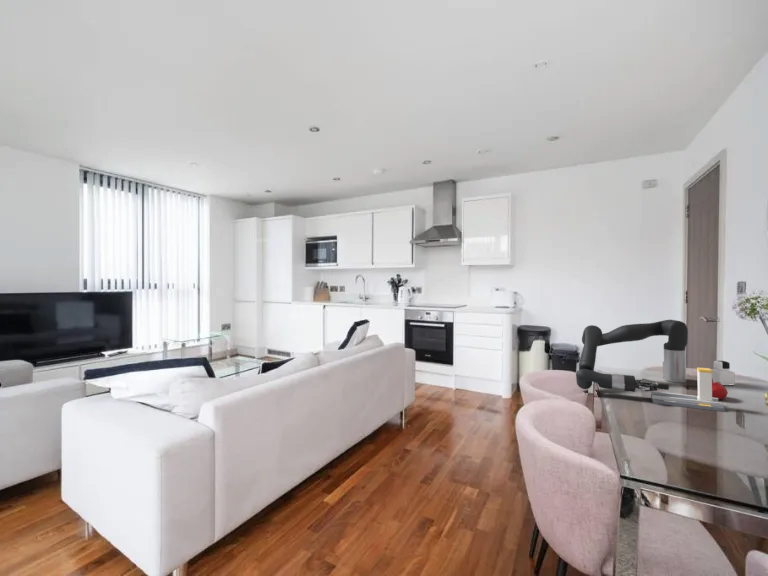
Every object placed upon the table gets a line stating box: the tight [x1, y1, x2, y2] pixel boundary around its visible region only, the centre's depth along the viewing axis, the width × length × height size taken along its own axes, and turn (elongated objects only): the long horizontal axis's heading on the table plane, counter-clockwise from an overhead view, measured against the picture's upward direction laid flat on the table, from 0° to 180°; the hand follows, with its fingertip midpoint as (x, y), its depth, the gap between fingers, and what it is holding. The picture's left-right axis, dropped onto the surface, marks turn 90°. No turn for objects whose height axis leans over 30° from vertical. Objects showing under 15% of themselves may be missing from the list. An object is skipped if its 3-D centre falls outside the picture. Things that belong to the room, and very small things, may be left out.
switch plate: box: [649, 390, 725, 413], centre depth 159 cm, size 24×11×3 cm, turn 59°
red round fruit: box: [712, 379, 728, 401], centre depth 165 cm, size 10×10×9 cm
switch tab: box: [696, 367, 713, 402], centre depth 156 cm, size 4×5×15 cm
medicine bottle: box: [710, 360, 736, 385], centre depth 185 cm, size 7×7×12 cm
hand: (668, 387), depth 161 cm, fingers closed
